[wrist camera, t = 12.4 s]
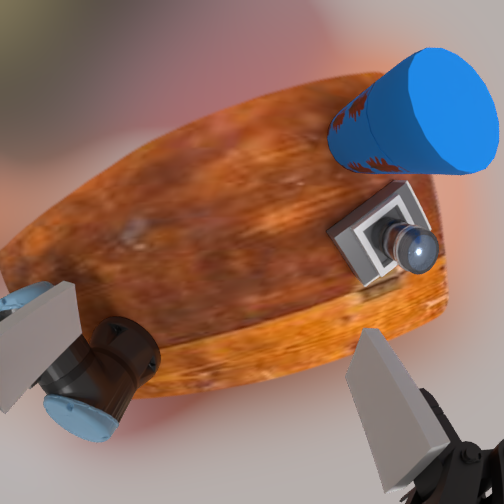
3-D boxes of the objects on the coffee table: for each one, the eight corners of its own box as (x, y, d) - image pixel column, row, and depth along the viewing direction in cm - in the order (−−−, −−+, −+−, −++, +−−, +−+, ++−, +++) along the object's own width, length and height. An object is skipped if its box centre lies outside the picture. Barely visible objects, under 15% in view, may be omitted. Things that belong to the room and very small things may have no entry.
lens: (381, 260, 37) (414, 285, 27) (363, 230, 36) (395, 248, 26) (408, 238, 36) (446, 257, 26) (392, 208, 35) (430, 218, 25)
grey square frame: (355, 277, 43) (369, 292, 37) (326, 231, 41) (337, 240, 35) (418, 227, 40) (440, 235, 34) (393, 179, 39) (414, 180, 32)
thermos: (316, 157, 38) (391, 129, 14) (336, 98, 36) (413, 22, 12) (377, 184, 39) (489, 198, 15) (395, 127, 36) (503, 95, 12)
